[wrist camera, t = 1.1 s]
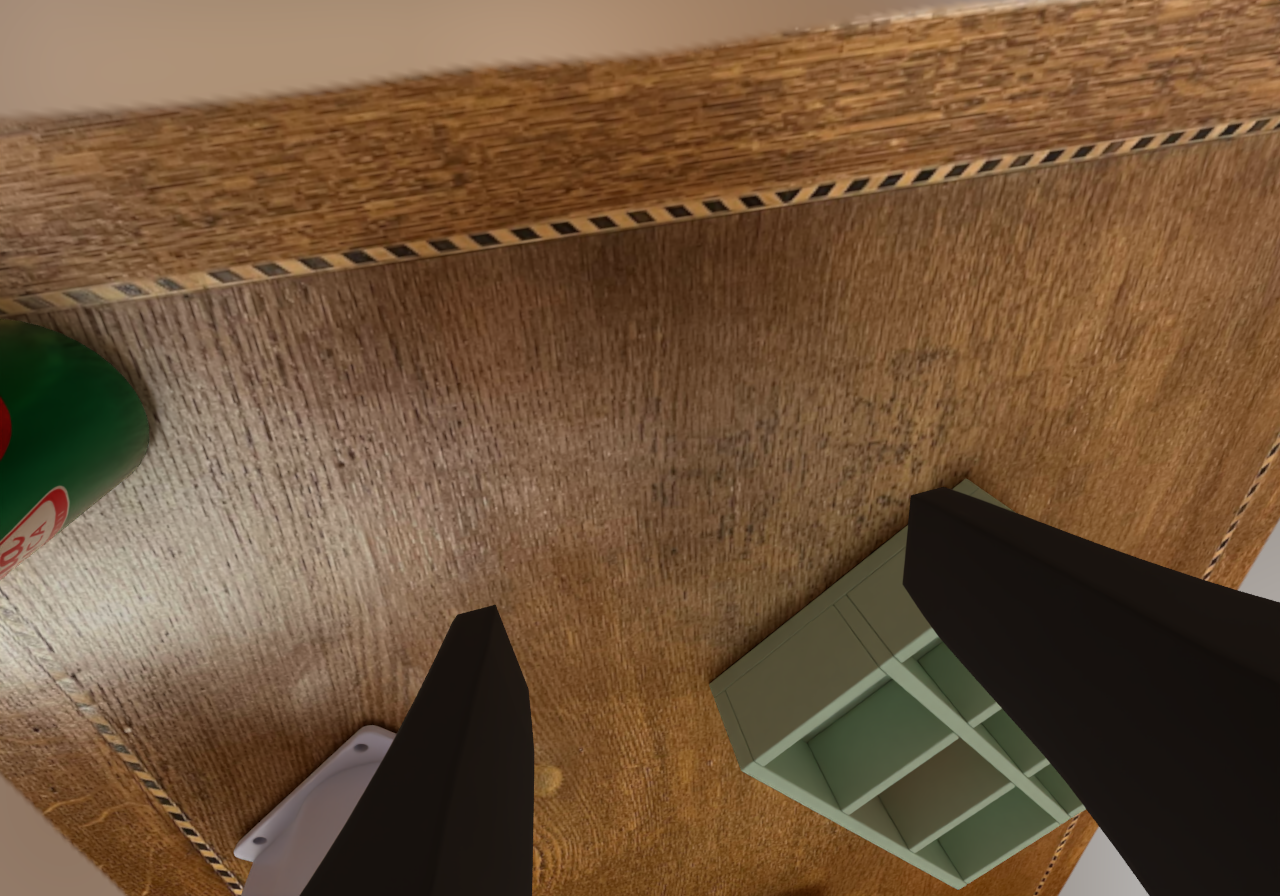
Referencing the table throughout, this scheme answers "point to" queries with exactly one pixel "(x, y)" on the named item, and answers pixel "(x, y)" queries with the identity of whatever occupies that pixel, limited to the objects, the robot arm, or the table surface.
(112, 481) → the soda can
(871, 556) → the tray
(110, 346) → the table surface
